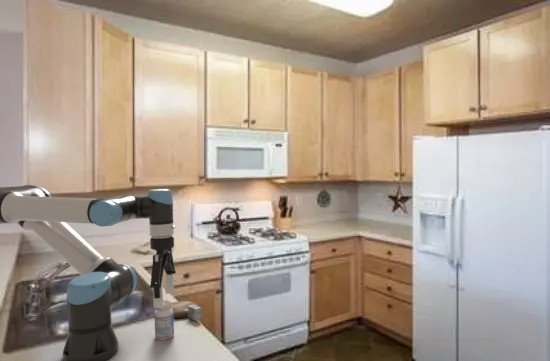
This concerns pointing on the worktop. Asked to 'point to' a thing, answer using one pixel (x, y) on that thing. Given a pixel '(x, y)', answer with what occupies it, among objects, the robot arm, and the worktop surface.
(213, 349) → the worktop surface
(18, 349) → the worktop surface
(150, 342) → the worktop surface
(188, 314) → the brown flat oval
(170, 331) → the pill bottle
